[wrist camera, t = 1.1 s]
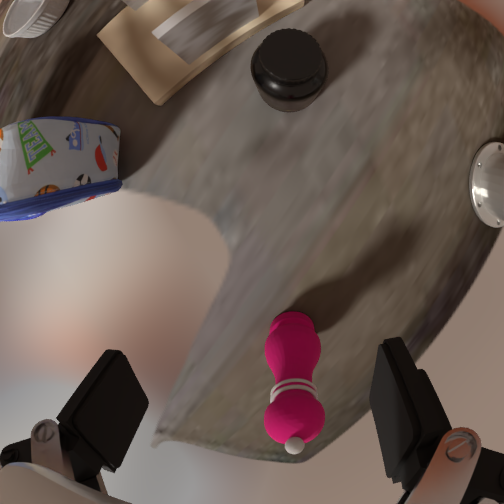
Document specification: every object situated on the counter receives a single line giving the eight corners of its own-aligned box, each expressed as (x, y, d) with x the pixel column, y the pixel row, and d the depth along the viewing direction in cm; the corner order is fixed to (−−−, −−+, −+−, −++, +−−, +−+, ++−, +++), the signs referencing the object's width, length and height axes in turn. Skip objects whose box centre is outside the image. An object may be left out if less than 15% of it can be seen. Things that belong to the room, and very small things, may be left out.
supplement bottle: (257, 60, 27) (245, 16, 16) (316, 62, 26) (334, 20, 15) (257, 113, 29) (245, 92, 18) (317, 115, 29) (338, 96, 17)
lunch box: (18, 202, 36) (-76, 242, 15) (14, 146, 32) (-84, 167, 12) (139, 192, 34) (5, 251, 13) (137, 114, 30) (-5, 100, 10)
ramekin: (56, -21, 20) (35, -31, 13) (90, -14, 22) (67, -28, 15) (18, 35, 24) (-5, 30, 18) (45, 49, 26) (17, 43, 20)
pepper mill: (326, 317, 37) (350, 439, 19) (303, 353, 40) (310, 471, 21) (278, 300, 37) (273, 426, 18) (259, 339, 40) (243, 460, 21)
